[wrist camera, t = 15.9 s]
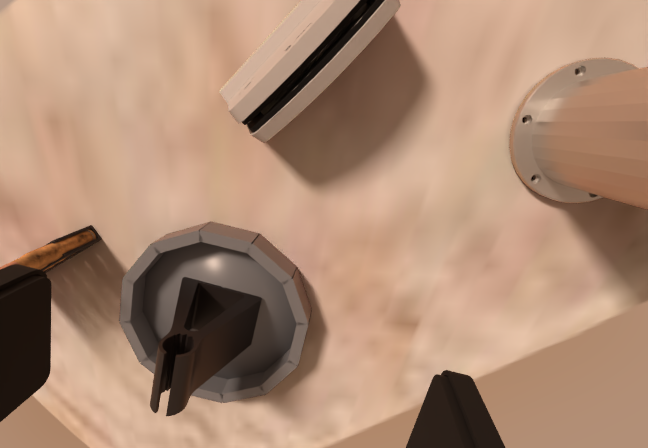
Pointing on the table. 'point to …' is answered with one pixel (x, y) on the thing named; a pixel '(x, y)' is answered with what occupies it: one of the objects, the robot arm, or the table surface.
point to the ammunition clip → (58, 250)
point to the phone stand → (201, 339)
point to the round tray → (228, 272)
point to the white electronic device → (302, 60)
